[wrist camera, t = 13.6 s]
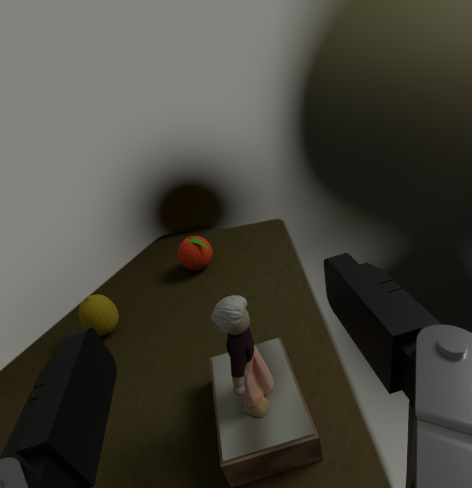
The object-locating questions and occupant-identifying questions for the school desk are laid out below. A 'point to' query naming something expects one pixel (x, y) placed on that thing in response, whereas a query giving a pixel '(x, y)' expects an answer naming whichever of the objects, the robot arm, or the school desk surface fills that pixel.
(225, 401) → the plinth
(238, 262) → the school desk surface
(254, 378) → the grandmother figurine
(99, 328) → the lemon
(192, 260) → the clementine
